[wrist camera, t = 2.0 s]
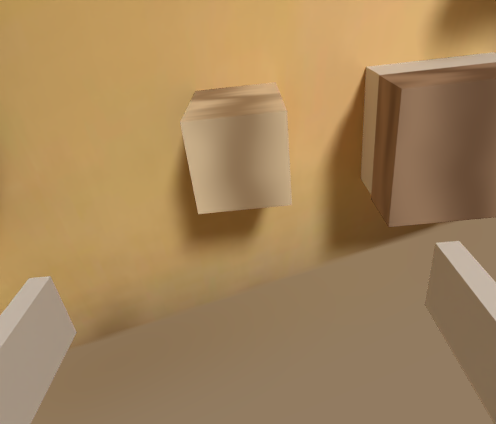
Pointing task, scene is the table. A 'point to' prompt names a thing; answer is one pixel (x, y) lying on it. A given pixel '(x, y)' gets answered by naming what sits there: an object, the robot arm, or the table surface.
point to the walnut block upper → (436, 145)
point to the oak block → (238, 148)
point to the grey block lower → (372, 98)
